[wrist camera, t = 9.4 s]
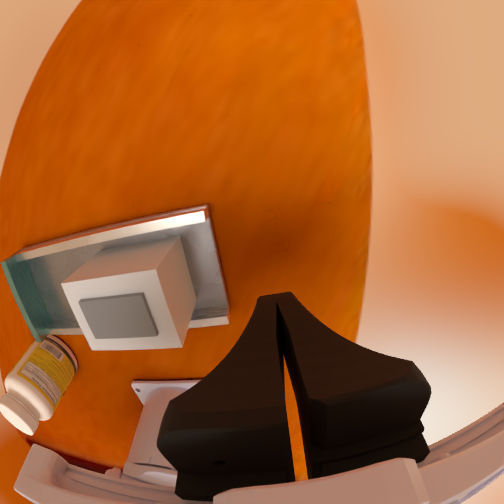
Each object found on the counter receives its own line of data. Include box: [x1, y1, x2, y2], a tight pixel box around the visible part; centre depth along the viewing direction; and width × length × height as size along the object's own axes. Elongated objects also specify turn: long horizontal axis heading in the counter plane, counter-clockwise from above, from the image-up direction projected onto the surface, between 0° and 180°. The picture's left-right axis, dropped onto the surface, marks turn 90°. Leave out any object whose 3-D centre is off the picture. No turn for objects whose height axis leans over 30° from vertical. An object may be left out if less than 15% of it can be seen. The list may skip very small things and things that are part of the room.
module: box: [61, 236, 197, 350], centre depth 15 cm, size 4×6×5 cm
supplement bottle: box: [0, 335, 78, 435], centre depth 17 cm, size 5×5×10 cm
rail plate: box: [1, 204, 231, 342], centre depth 17 cm, size 17×8×3 cm, turn 99°
